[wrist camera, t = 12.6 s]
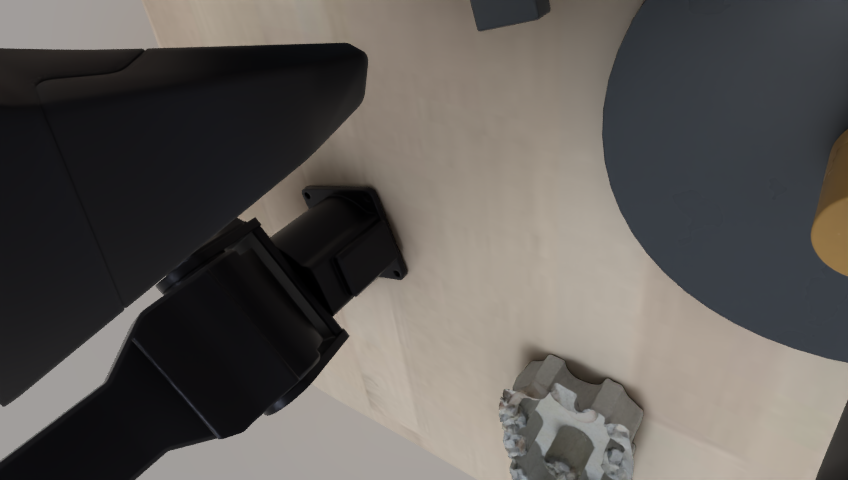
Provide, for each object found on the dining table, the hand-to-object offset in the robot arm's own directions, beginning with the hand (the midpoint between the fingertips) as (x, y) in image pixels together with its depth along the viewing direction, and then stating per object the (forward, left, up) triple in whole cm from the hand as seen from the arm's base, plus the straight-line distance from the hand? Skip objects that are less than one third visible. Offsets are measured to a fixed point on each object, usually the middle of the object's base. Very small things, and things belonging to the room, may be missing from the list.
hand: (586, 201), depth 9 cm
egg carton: (-10, -23, -13) cm, 28 cm away
